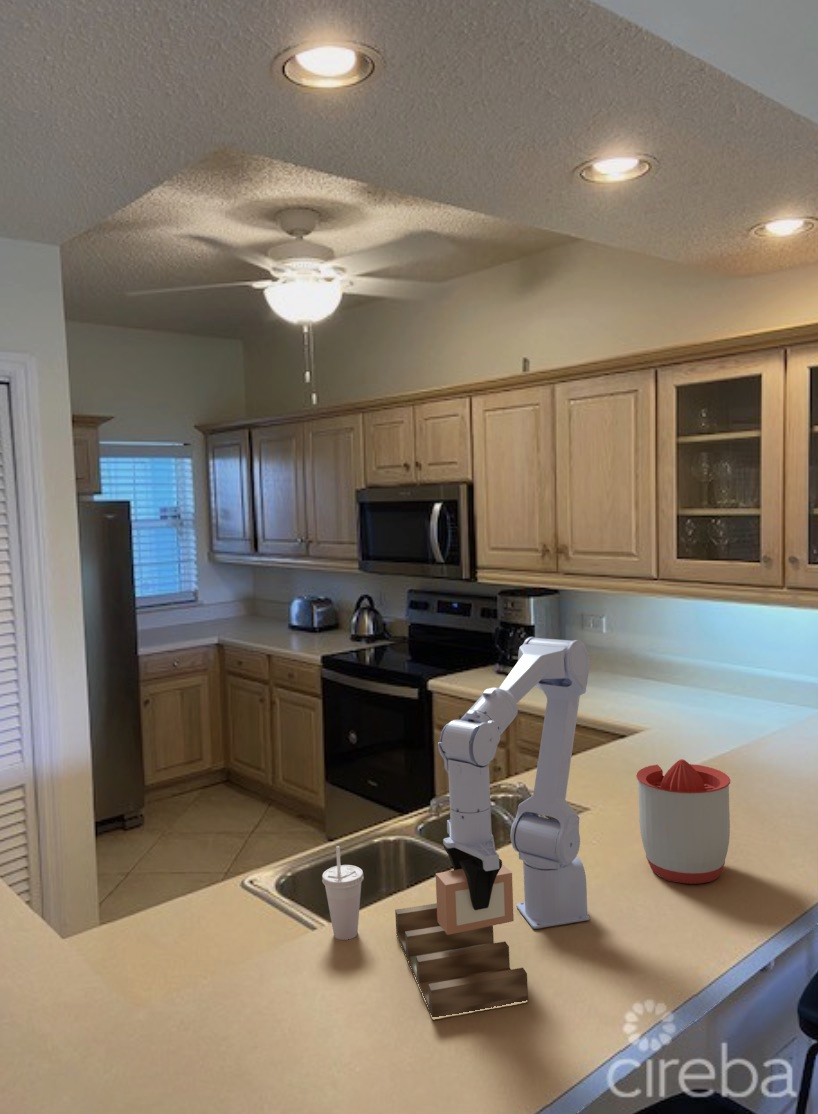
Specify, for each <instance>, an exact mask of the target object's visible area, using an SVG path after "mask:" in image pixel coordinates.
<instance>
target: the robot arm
mask: <svg viewBox="0 0 818 1114" xmlns="http://www.w3.org/2000/svg"><path fill="white" fill-rule="evenodd" d="M517 655H518V657H517V658H518V659H517V662H516V664H515V665H514V666H513V668H512V669H511V671H510V672H509V673H508V675H507V676H506V677H505V678H504V680H503V682H502V683H501V684H500V685H499V687H490V688H486V689H485V690H484V691H483V692H482V695H481V696H480V697H479V698H478V699H477V700H476V701H475V702H474V704H473V705H472V706H471V707H470V708H469V709H468V710H467V711H466V712H465V714H464V715H463V716H462V717H461V718H460V719H452V720H451V721H449V722H448V723H446V725H444V726H443V728H442V730H441V732H440V736H439V742H438V743H437V748H438V749H437V750H438V752H439V754H440V756H441V757H442V759H443V765H444V770H445V772H446V773H447V774H448V790H449V791H448V794H449V817H450V818H449V819H447V820H446V831H447V834H448V835H449V836H448V837H445V838H443V839H442V840H443V842H442V843H443V849H444V850H445V852H446V854H447V855H448V858H449V861H450V862H451V866H452V868H453V870H458V869H463V871H464V873H465V875H466V878H467V882H468V886H469V892H470V898H471V903H472V906H473V909H474V910H480V909H485V908H488V906H489V902H490V898H491V893H492V888H493V884H494V881H495V878H496V876H497V874H498V872H499V870H500V869H501V867H502V864H503V860H502V859H501V858H500V854H499V853H497V851H496V846H495V845H496V844H495V840H494V835H493V834H492V811H491V809H492V807H491V791H490V790H491V788H490V786H491V785H490V782H491V781H490V765H489V764H490V763H491V762H492V761H493V760H494V758H495V756H496V753H497V750H498V749H497V748H498V745H499V743H500V742H501V735H502V734H503V732H504V731H506V729H507V728H508V727H509V726H510V724H511V723H512V722H513V721H514V720H515V718H516V717H517V715H518V714H519V713H518V712H519V709H518V708H519V707H518V703H519V702H520V701H521V700H522V699H524V697H525V696H526V695H527V694H528V693H529V692H531V690H532V689H534V687H536V688H538V689H539V690H541V691H542V692H543V693H544V695H545V697H546V705H545V713H544V720H543V727H542V733H541V739H540V740H541V741H540V747H539V754H538V760H537V765H536V766H537V768H536V773H535V781H534V787H533V793H532V795H531V796H530V797H528V798H527V799H525V800H523V801H522V802H520V803H519V804H518V806H517V812H516V816H515V818H514V820H513V822H512V824H511V827H510V837H509V838H510V843H511V846H512V849H514V851H515V852H517V853H518V859H519V860H522V868H523V893H524V901H522V902H518V903H516V908H517V910H518V911H519V912H520V914H521V915H522V916H523V918H524V919H525V920H526V921H527V923H529V924H528V925H530V927H531V928H532V929H534V930H536V929H537V930H538V929H543V928H548V927H555V926H562V925H568V924H573V923H580V922H585V921H589V920H590V916H589V914H588V897H587V896H588V894H587V893H588V892H587V891H588V889H587V876H586V871H585V868H584V863H583V862H582V860H581V859H580V857H579V856H578V855H579V850H580V845H581V835H580V816H579V815H578V814H577V813H576V811H575V810H574V809H573V807H571V805H570V804H569V803H568V802H567V800H566V798H567V791H568V785H569V777H570V776H569V775H570V770H571V761H572V754H573V748H574V740H575V733H576V726H577V719H578V711H579V704H580V698H581V696H583V695H584V694H586V692H587V685H588V679H589V672H590V665H591V658H590V654H589V652H588V650H587V647H586V645H585V643H584V642H583V640H582V641H581V640H579V639H574V640H569V639H568V640H567V639H556V638H555V639H554V638H543V637H541V638H540V637H539V638H538V637H535V636H528V637H527V638H526V639H525V640H524V642H523V644H522V645H520V646H519V649H518V653H517ZM538 815H542V816H547V817H550V818H546V817H542V816H538ZM551 818H554V819H551ZM555 819H556V820H555Z"/></svg>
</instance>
